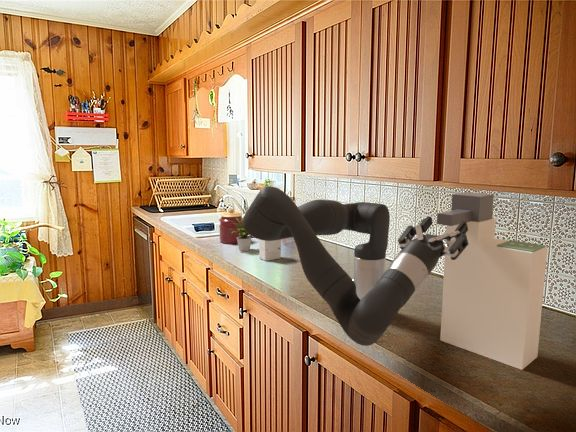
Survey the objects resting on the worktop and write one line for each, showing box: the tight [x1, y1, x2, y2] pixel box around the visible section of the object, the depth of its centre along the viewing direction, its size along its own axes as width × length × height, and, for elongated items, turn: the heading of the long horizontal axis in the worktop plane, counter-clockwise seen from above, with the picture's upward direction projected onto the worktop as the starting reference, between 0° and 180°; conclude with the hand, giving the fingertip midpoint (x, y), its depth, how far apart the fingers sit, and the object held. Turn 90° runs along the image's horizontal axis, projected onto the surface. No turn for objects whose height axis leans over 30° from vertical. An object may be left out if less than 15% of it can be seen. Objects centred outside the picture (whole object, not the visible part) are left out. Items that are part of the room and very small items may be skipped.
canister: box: [218, 208, 244, 245], centre depth 228 cm, size 13×13×18 cm
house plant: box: [232, 218, 252, 252], centre depth 210 cm, size 14×14×16 cm
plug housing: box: [436, 191, 495, 226], centre depth 104 cm, size 7×16×6 cm, turn 131°
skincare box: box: [258, 239, 282, 262], centre depth 194 cm, size 8×6×15 cm
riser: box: [439, 217, 548, 371], centre depth 105 cm, size 20×9×32 cm, turn 41°
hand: (447, 221), depth 100 cm, fingers open, 8 cm apart
